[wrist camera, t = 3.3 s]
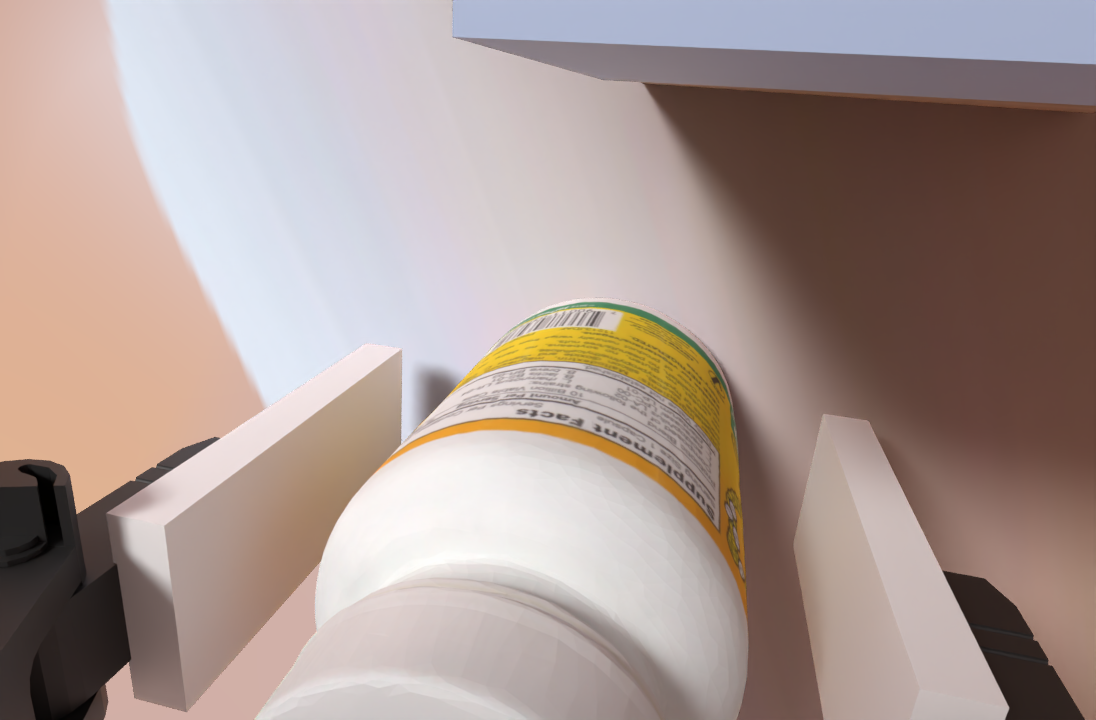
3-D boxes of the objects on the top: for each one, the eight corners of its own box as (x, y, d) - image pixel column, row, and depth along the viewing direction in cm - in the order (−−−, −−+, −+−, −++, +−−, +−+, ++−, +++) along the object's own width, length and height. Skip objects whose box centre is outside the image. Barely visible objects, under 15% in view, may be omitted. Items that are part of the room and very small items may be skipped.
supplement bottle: (562, 239, 14) (288, 463, 5) (794, 391, 14) (933, 890, 5) (438, 442, 16) (89, 853, 7) (639, 575, 16) (541, 1156, 7)
